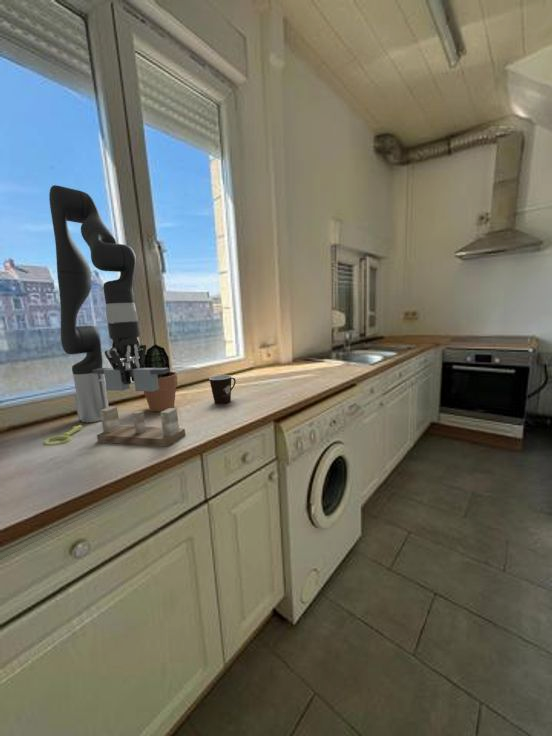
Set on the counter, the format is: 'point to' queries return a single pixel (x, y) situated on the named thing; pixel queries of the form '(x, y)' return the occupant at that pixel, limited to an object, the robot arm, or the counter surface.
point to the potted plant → (160, 380)
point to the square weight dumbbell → (142, 378)
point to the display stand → (140, 429)
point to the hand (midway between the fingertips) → (131, 382)
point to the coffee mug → (221, 388)
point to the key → (65, 436)
